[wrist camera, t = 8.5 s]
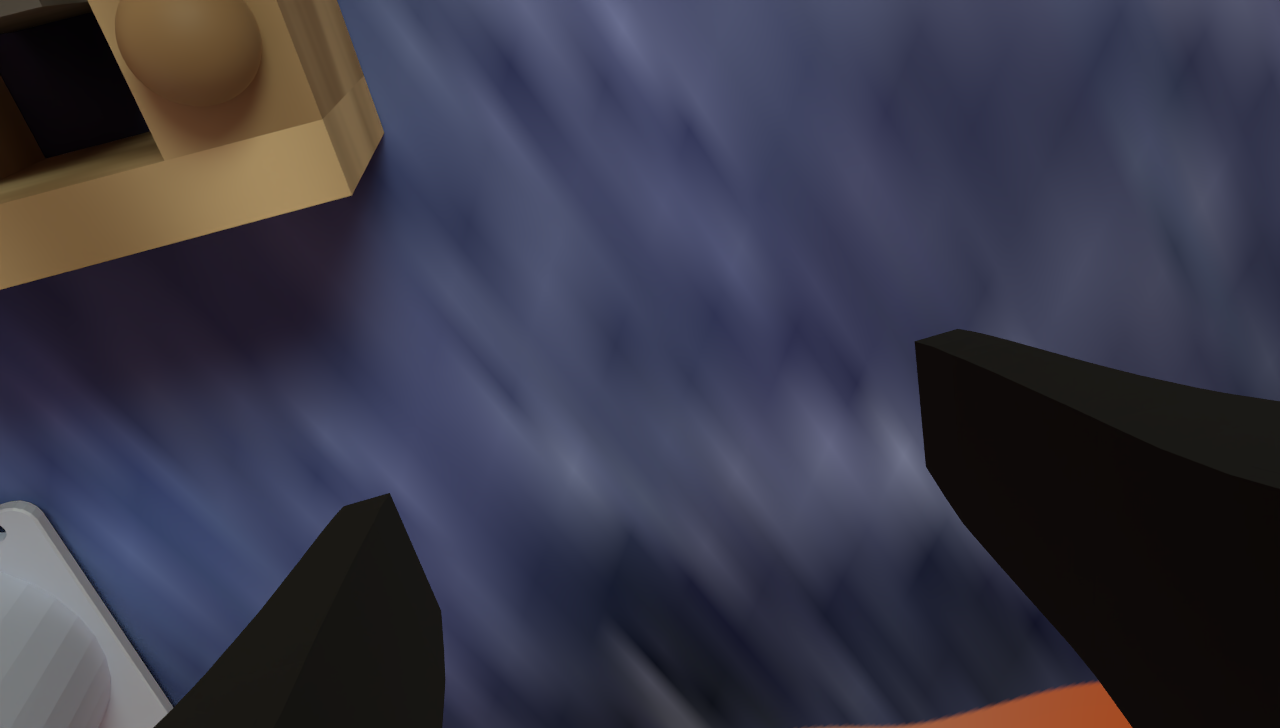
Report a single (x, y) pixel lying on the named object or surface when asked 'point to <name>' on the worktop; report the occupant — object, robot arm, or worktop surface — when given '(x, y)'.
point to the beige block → (38, 12)
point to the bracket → (193, 134)
